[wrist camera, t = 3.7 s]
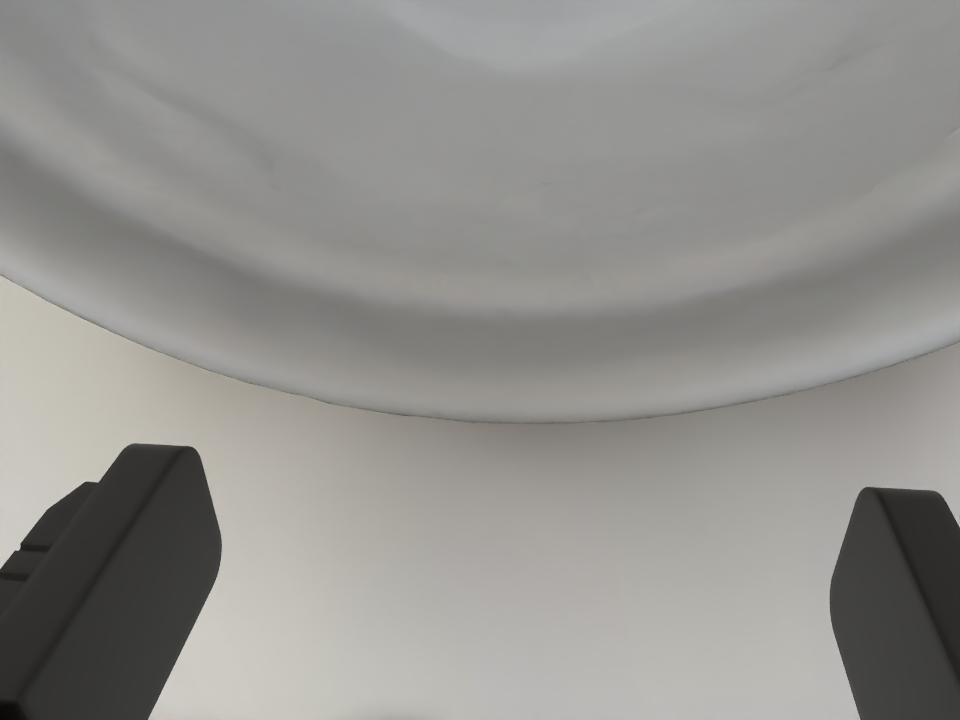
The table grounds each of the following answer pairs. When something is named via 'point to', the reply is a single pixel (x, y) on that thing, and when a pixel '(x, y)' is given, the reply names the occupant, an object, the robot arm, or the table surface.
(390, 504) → the table surface
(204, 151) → the ramekin
